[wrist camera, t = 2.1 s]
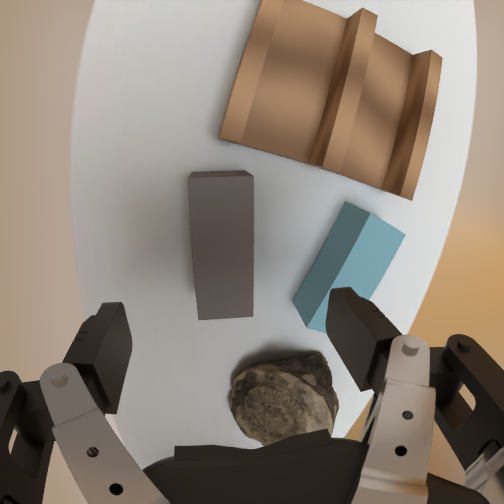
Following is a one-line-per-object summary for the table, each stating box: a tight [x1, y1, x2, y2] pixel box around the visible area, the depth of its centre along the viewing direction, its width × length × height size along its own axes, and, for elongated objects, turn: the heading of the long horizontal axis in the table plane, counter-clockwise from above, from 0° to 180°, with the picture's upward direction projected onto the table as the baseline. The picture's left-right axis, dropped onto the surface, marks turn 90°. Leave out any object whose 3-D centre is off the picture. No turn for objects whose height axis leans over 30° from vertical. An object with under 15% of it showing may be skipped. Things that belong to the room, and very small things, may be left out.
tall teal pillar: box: [293, 202, 405, 333], centre depth 21 cm, size 9×4×4 cm, turn 154°
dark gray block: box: [188, 170, 254, 320], centre depth 19 cm, size 9×4×4 cm, turn 0°
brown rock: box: [229, 353, 339, 446], centre depth 24 cm, size 11×9×10 cm
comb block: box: [218, 0, 442, 201], centre depth 17 cm, size 12×14×4 cm
